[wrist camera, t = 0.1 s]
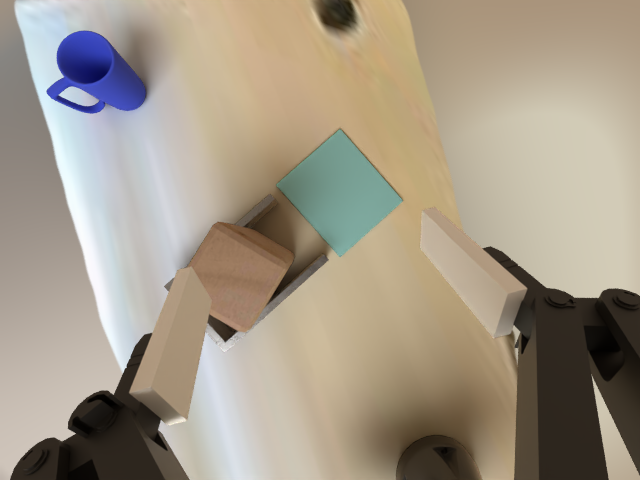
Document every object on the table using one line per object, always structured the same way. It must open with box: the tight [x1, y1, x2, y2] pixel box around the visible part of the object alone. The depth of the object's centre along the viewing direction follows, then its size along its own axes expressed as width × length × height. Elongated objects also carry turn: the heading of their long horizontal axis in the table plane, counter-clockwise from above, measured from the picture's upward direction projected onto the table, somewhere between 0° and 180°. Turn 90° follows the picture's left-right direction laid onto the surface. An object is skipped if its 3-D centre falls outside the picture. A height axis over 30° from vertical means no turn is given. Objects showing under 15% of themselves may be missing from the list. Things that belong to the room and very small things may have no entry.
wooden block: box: [188, 222, 295, 333], centre depth 41 cm, size 10×10×20 cm
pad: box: [276, 129, 403, 257], centre depth 52 cm, size 18×16×1 cm
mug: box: [47, 31, 146, 113], centre depth 45 cm, size 8×12×10 cm
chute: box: [164, 194, 329, 353], centre depth 48 cm, size 15×23×5 cm, turn 132°
